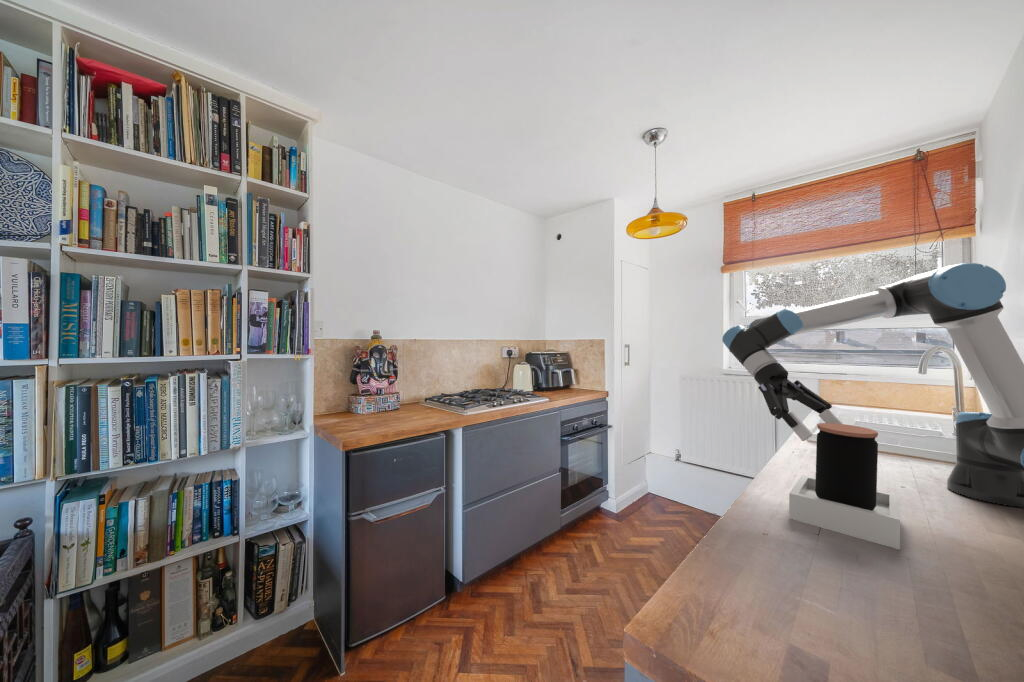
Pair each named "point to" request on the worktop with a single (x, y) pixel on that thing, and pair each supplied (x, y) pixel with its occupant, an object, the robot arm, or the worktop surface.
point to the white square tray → (847, 514)
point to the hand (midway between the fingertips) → (826, 435)
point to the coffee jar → (847, 465)
